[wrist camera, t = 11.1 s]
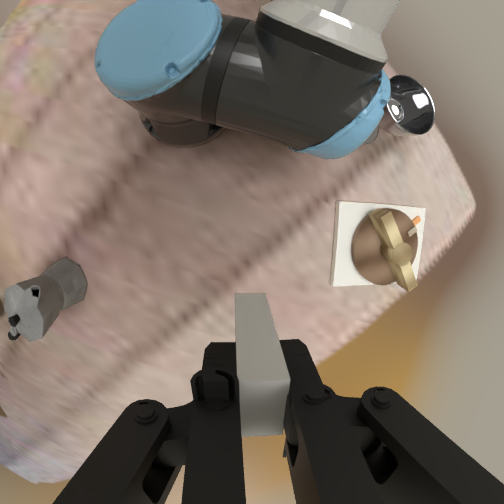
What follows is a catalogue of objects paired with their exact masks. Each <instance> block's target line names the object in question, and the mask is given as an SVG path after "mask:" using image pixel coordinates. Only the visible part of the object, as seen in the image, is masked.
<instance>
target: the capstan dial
mask: <svg viewBox="0 0 504 504" xmlns="http://www.w3.org/2000/svg"><path fill="white" fill-rule="evenodd" d="M417 248H418V236H417V228H416V226H414V223H413V222H412V220H411V219H410V218H409V217H408V216H407V215H406V214H405V213H403V212H402V211H400V210H396V209H392V208H377V209H376V210H374V211H372V212H371V213H369V214H368V215H367V216H366V217H365V218H364V219H363V220H362V221H361V222H360V223H359V225H358V227H357V229H356V231H355V233H354V236H353V240H352V246H351V254H352V260H353V263H354V266H355V268H356V269H357V271H358V272H359V274H360V275H361V276H363V277H364V278H365V279H366V280H368V281H369V282H371V283H373V284H377V285H387V284H391V283H394V282H396V283H397V284H398V285H399V286H401V287H402V288H404V289H405V290H407V291H408V292H410V291H411V290H412V289H413V288H415V287H416V286H417V282H416V278H415V275H414V272H413V269H412V264H413V262H414V260H415V257H416V253H417Z"/></svg>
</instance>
